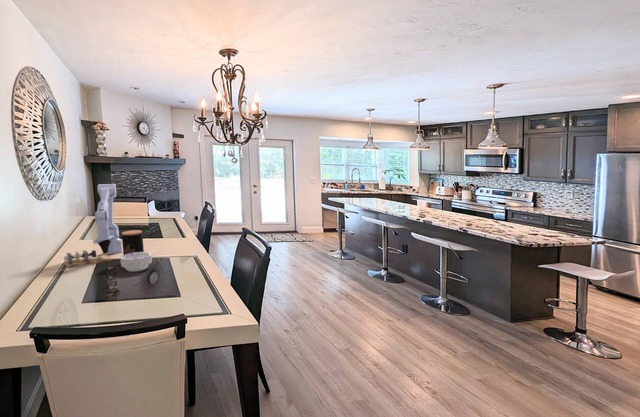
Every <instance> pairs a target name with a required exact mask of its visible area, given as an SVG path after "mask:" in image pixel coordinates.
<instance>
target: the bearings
mask: <svg viewBox="0 0 640 417" xmlns="http://www.w3.org/2000/svg"><path fill="white" fill-rule="evenodd" d="M88 253H89V252H88V251H87V250H82V254H84V257H82V258H83V260H85V261H89V260H88V258H89V256H88ZM79 254H80V253H79V251H75V255H77V258H75V260H76V261H77V262H80V259H81V258H79ZM72 255H73V254H71V252H66V256H68V260H66V261H67V262H68V263H69V264H72V260H73V259H72Z"/></svg>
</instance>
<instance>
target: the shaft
mask: <svg viewBox="0 0 640 417" xmlns="http://www.w3.org/2000/svg"><path fill="white" fill-rule="evenodd" d="M71 255H72V260H76V258H77V255H76V254H71ZM96 256H97V251H96V250H95V249H93V250H91V252H88V257H96ZM83 257H84V254H83V253H79V259H82V258H83ZM63 259H64V261H67V260H68V256H67V255H66V256H63Z"/></svg>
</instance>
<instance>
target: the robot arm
mask: <svg viewBox="0 0 640 417" xmlns="http://www.w3.org/2000/svg"><path fill="white" fill-rule="evenodd" d="M97 193H98V195H99V197H100V201H98V203H97V209H96V211H95V212H94V219H95V223H96V226H97V234H98V235H97V238H96V239H94V240H92V241H93V244H95V245H97V244H98V246H99V247H100V249H101V252H102V253H103V255H107V256H109V255H113V254H114V255H115V254H120V253H123V245H122V239H121V238H119V237H120V232H119V226H118V225H117V224H115V223H114V199H115V198H116V197H117V186H116V183H107V184H106V183H105V184H100V183H99V184H97Z"/></svg>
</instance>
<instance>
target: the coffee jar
mask: <svg viewBox="0 0 640 417" xmlns="http://www.w3.org/2000/svg"><path fill="white" fill-rule="evenodd" d="M142 233H143V230H140V229H135V230H133V229H132V230H127V231H123V232H121V235H122V236H121V245H122V256H123V255H125V254H129V253H135V252H145V250H144V238H143V237H144V235H143V234H142Z"/></svg>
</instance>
